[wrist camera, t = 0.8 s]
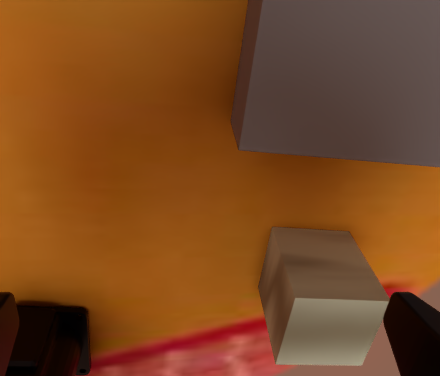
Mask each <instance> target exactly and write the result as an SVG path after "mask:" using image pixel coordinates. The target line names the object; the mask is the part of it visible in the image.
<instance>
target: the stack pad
mask: <svg viewBox="0 0 440 376" xmlns="http://www.w3.org/2000/svg"><path fill="white" fill-rule="evenodd" d="M231 125H232V128H233V132H234V135H235V139H236V142H237V146H238V150H242V151H254V152H266V153H278V154H289V155H301V156H313V157H325V158H337V159H349V160H361V161H373V162H385V163H397V164H409V165H420V166H432V167H440V0H248V6H247V13H246V20H245V27H244V33H243V40H242V47H241V54H240V61H239V68H238V75H237V82H236V89H235V96H234V102H233V109H232V116H231Z"/></svg>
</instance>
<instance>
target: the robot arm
mask: <svg viewBox="0 0 440 376" xmlns="http://www.w3.org/2000/svg"><path fill="white" fill-rule="evenodd" d="M79 315H81V316H79ZM383 322H384V327H385V330H386V333H387V336H388V339H389V342H390V345H391V348H392V351H393V354H394V357H395V360H396V363H397V366H398V369H399V372H400V375H401V376H440V312H439V311H437V310H436V309H435V308H433V307H432V306H430V305H429V304H427V303H426V302H424V301H423V300H421V299H420V298H418V297H417V296H416V295H414V294H412V293H410V292H395V293H393V294H392V295H391V297H390V300H389V303H388V305H387V308H386V310H385V313H384V317H383ZM90 368H91V357H90V338H89V320H88V311H87V310H86V309H84V308H71V307H39V306H16V303H15V298H14V296H13V294H12V293H10V292H0V376H75V375H87V374H89V372H90Z"/></svg>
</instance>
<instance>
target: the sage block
mask: <svg viewBox="0 0 440 376" xmlns="http://www.w3.org/2000/svg"><path fill="white" fill-rule="evenodd" d="M258 288H259V293H260V297H261V302H262V306H263V310H264V315H265V319H266V324H267V328H268V333H269V337H270V342H271V346H272V351H273V355H274V360H275V364H281V365H355V366H357V365H358V366H360V365H362V364H363V361H364V359H365V357H366V355H367V353H368V351H369V349H370V346H371V344H372V342H373V340H374V338H375V335H376V333H377V331H378V329H379V327H380V325H381V323H382V320H383V317H384V313H385V310H386V308H387V305H388V303H389V300H390V298H389V297H388V295H387V293H386V292H385V290H384V289H383V287H382V285H381V284H380V282H379V280H378V279H377V277H376V275H375V274H374V272H373V270H372V269H371V267H370V265H369V264H368V262H367V260H366V259H365V257H364V256H363V254H362V252H361V251H360V249H359V247H358V246H357V244H356V242H355V241H354V239H353V237H352V236H351V234H350V232H349V231H334V230H318V229H301V228H285V227H272V229H271V234H270V238H269V242H268V247H267V251H266V255H265V260H264V264H263V268H262V273H261V277H260V281H259V286H258Z"/></svg>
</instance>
